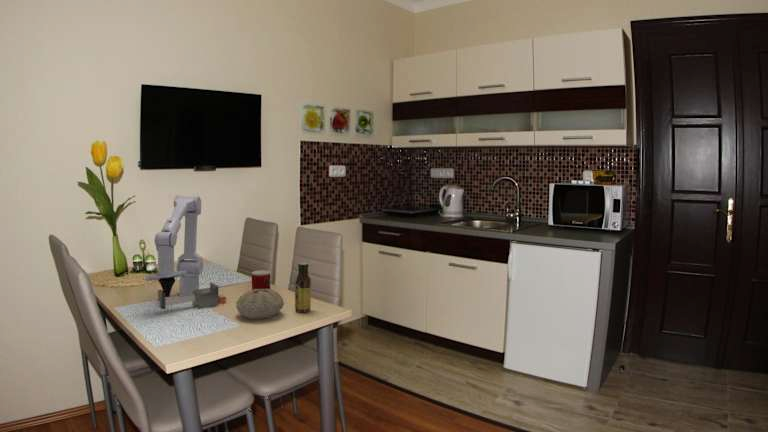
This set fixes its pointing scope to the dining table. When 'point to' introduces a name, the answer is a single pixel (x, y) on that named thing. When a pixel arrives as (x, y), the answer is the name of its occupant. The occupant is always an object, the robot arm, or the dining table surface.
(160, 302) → the shaft
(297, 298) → the sauce bottle
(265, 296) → the decorative shell
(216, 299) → the bearing block
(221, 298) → the spacer
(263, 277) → the canned food
